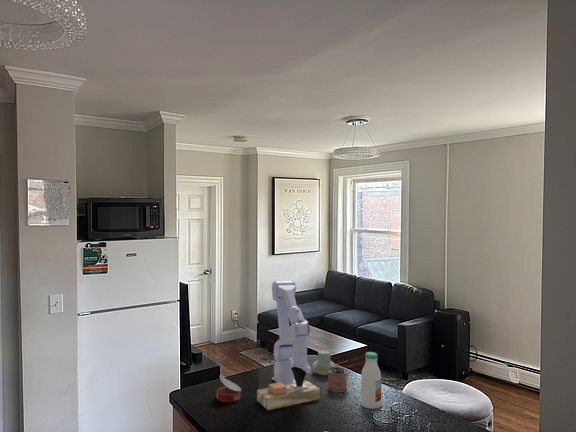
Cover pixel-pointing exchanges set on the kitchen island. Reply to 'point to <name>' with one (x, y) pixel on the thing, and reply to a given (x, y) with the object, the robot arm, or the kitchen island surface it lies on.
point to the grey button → (299, 387)
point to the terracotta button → (277, 388)
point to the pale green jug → (323, 363)
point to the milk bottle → (371, 382)
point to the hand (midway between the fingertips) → (299, 385)
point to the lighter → (337, 379)
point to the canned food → (228, 391)
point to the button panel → (288, 396)
